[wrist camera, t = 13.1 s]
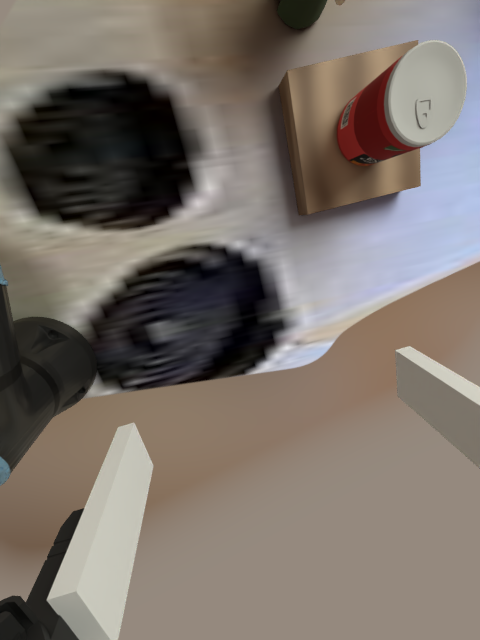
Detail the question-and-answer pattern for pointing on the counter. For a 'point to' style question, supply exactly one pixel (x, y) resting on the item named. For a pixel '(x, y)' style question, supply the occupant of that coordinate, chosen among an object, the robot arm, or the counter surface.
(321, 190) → the walnut base
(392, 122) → the canned food
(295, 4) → the character mug
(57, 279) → the counter surface
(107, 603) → the robot arm
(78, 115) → the counter surface
